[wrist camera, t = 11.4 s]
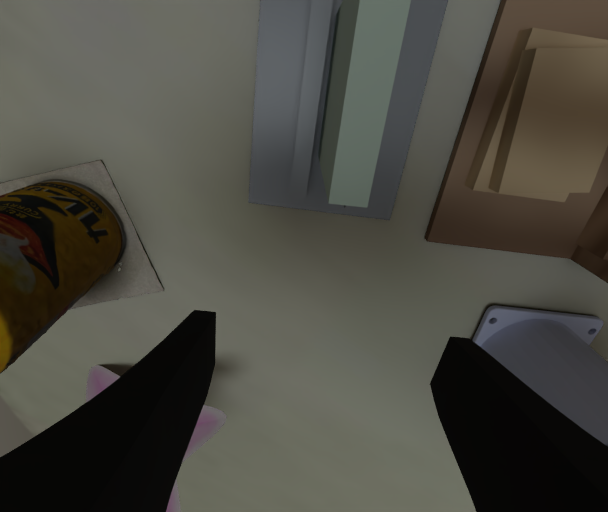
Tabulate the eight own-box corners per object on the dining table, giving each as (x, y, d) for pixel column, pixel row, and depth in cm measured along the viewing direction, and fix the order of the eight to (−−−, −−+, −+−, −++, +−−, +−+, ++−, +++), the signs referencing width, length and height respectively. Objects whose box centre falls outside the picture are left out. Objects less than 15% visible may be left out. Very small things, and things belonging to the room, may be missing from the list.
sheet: (340, 157, 17) (367, 207, 10) (317, 154, 17) (328, 203, 10) (363, 18, 15) (420, -47, 7) (336, 14, 15) (368, -56, 7)
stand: (387, 217, 19) (398, 234, 17) (249, 199, 19) (242, 215, 17) (458, -52, 14) (487, -78, 12) (266, -86, 13) (259, -120, 11)
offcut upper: (574, 187, 17) (589, 192, 16) (488, 187, 17) (498, 193, 16) (624, 49, 14) (646, 46, 13) (522, 50, 14) (536, 47, 13)
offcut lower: (551, 196, 18) (564, 202, 17) (464, 184, 18) (472, 190, 17) (623, 48, 15) (643, 45, 14) (519, 31, 15) (532, 27, 14)
